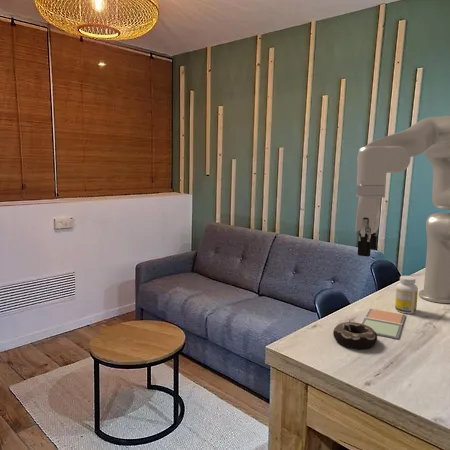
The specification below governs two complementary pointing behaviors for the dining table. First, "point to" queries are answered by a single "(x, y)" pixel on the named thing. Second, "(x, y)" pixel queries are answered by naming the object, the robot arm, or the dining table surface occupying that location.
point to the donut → (355, 335)
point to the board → (384, 323)
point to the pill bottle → (406, 295)
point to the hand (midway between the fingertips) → (367, 252)
